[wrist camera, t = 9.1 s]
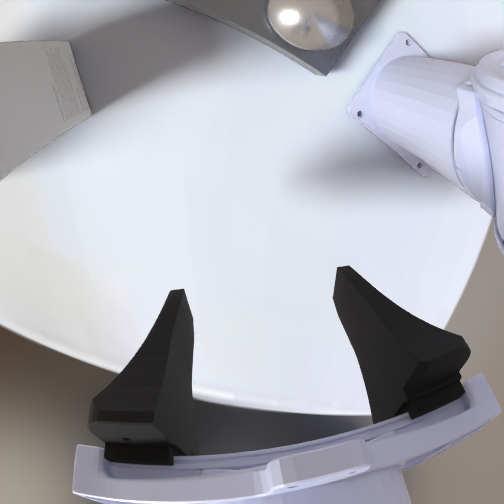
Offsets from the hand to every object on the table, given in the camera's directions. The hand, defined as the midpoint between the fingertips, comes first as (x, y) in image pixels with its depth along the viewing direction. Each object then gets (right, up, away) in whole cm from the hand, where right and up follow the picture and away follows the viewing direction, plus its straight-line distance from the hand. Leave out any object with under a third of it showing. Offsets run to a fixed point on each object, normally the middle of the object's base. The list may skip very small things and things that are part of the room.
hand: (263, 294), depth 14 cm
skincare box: (-13, +13, +1) cm, 19 cm away
